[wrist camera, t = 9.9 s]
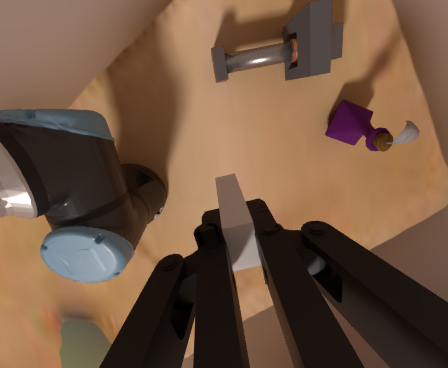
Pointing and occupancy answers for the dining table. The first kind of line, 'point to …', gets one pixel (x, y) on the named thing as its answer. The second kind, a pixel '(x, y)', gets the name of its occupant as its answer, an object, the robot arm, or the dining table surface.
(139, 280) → the dining table surface
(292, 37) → the collar
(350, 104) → the perfume bottle
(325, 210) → the dining table surface
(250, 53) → the pipe stand
